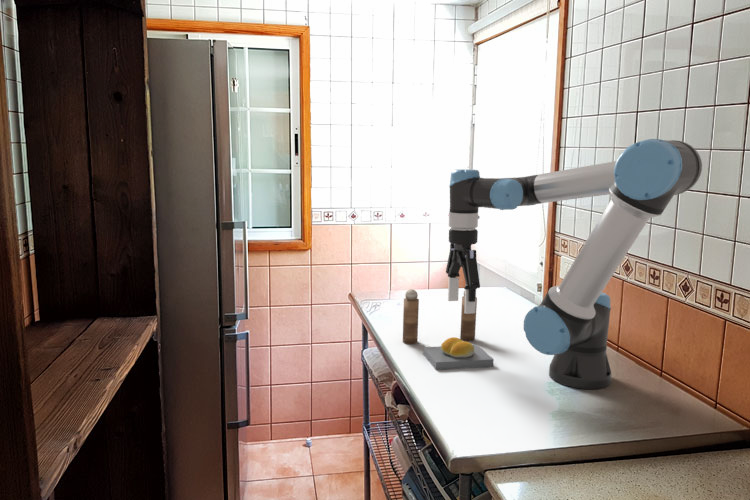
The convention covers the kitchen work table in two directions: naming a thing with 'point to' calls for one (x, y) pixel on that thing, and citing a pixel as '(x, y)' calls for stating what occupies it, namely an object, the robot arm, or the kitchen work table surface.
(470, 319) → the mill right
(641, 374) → the kitchen work table surface
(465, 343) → the bread roll
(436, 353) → the slate board
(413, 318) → the mill left
